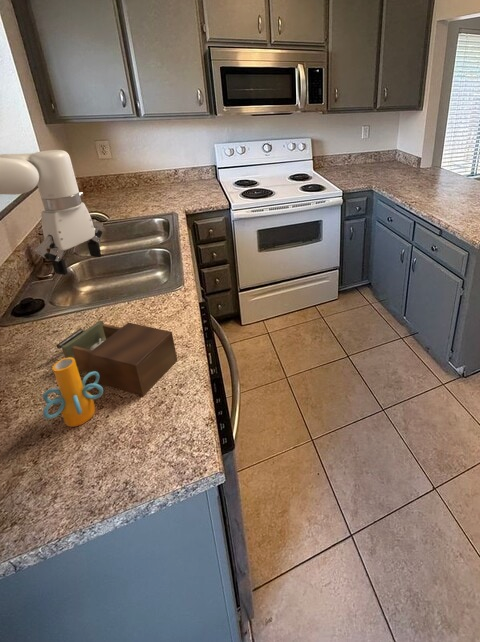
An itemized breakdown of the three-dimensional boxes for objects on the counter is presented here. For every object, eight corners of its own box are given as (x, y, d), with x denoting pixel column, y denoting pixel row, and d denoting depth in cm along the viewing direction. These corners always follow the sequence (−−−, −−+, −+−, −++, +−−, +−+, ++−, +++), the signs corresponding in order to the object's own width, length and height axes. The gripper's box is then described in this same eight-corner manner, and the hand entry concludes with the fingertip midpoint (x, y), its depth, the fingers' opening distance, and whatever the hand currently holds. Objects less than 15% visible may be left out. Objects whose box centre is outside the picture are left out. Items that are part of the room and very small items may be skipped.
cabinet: (97, 383, 91) (88, 353, 88) (135, 350, 102) (128, 322, 99) (143, 396, 87) (135, 365, 84) (177, 360, 98) (172, 331, 95)
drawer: (53, 366, 96) (45, 342, 93) (90, 338, 106) (84, 316, 103) (109, 382, 90) (102, 357, 88) (143, 351, 101) (137, 328, 98)
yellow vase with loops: (117, 393, 88) (104, 343, 83) (100, 431, 78) (83, 378, 73) (63, 401, 86) (46, 350, 81) (38, 441, 76) (17, 386, 71)
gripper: (82, 191, 95) (97, 248, 101) (13, 212, 80) (35, 279, 85) (104, 192, 93) (118, 251, 99) (37, 215, 78) (58, 283, 83)
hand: (79, 264), depth 92 cm, fingers open, 9 cm apart
